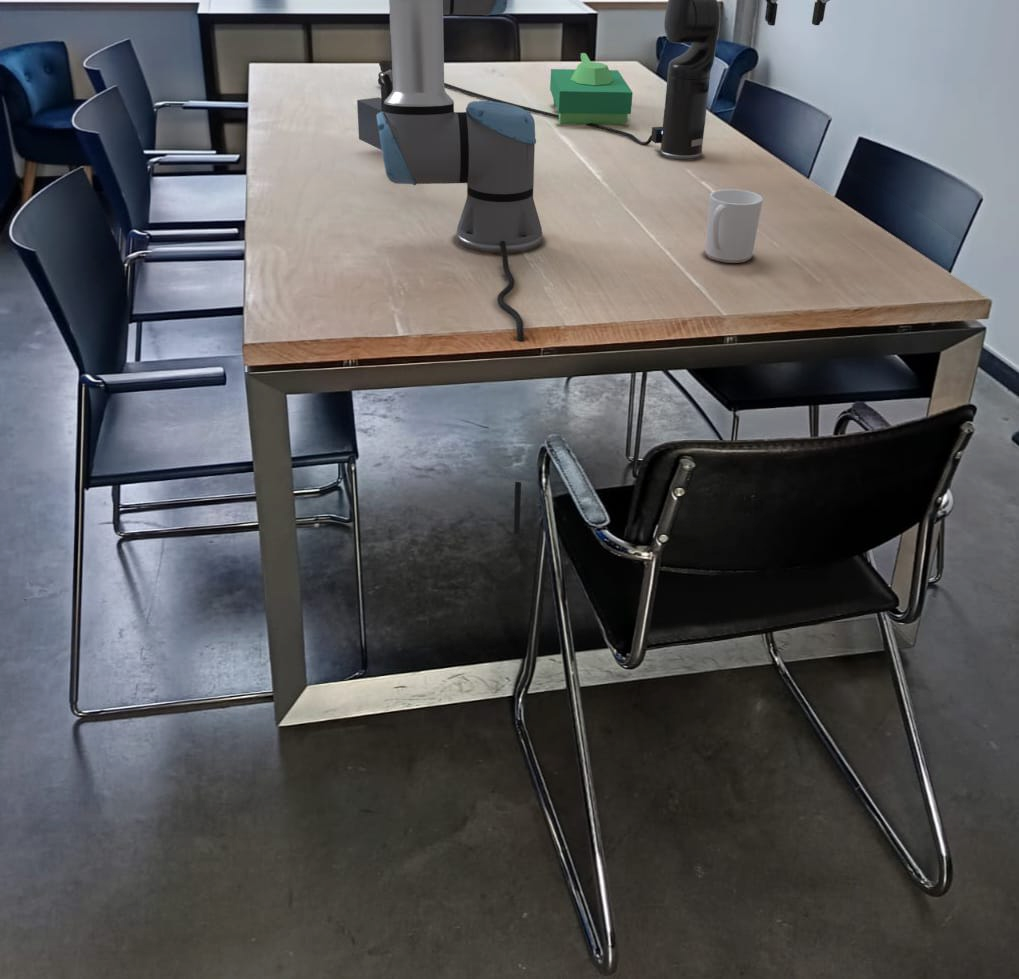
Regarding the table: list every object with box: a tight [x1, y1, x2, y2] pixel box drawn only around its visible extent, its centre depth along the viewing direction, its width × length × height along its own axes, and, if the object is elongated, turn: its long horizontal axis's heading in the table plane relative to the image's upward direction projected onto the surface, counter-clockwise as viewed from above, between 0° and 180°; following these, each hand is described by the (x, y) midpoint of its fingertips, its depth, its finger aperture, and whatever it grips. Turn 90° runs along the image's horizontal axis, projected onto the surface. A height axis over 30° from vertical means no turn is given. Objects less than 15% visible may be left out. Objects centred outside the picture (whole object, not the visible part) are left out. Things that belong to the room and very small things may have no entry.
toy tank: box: [549, 52, 633, 126], centre depth 280 cm, size 18×12×35 cm
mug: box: [705, 188, 764, 264], centre depth 188 cm, size 11×9×10 cm
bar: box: [356, 96, 382, 151], centre depth 236 cm, size 23×5×8 cm, turn 35°
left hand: (412, 154), depth 232 cm, fingers closed on bar, 5 cm apart
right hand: (793, 24), depth 200 cm, fingers open, 8 cm apart
